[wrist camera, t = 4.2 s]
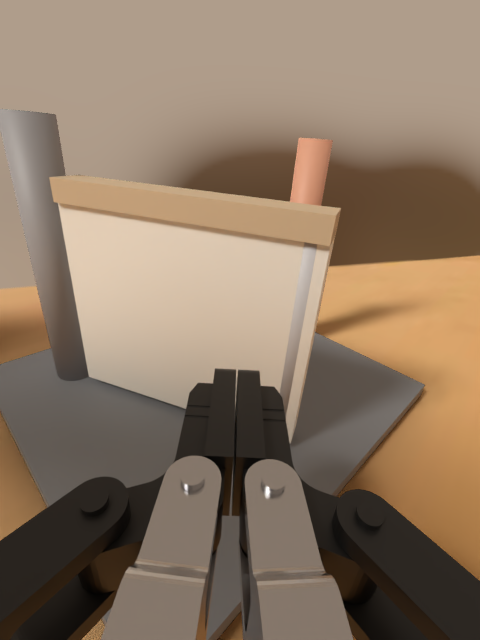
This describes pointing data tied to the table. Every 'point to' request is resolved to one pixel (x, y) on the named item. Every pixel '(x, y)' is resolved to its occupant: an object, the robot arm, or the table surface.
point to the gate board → (152, 414)
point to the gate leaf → (194, 284)
